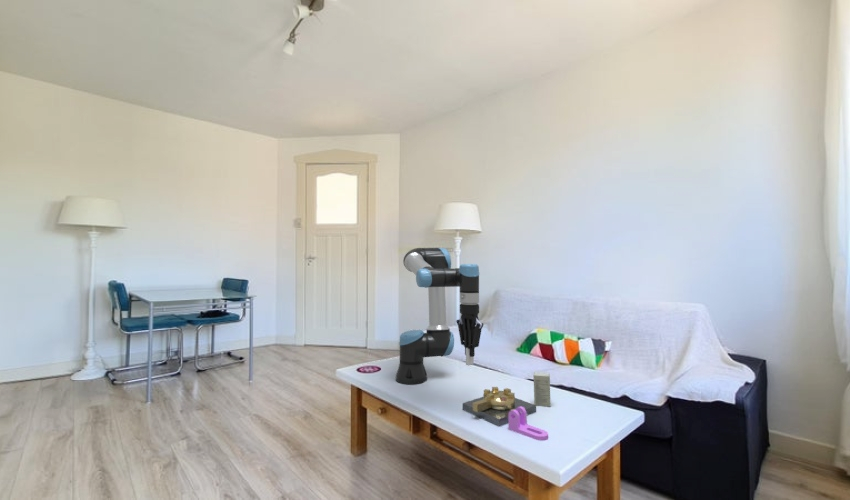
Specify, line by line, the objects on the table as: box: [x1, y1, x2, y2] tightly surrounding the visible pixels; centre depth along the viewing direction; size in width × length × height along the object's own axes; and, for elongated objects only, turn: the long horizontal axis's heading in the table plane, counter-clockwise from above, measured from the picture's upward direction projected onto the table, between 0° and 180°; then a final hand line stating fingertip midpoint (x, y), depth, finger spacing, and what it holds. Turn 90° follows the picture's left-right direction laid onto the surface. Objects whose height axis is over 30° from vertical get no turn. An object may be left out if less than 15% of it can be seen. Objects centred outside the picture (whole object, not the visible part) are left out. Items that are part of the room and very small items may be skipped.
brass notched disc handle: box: [473, 386, 516, 412], centre depth 148 cm, size 19×12×4 cm, turn 127°
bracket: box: [508, 406, 549, 441], centre depth 131 cm, size 13×6×7 cm, turn 44°
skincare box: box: [532, 371, 552, 407], centre depth 157 cm, size 6×4×12 cm
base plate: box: [462, 396, 537, 427], centre depth 149 cm, size 22×21×3 cm
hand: (469, 364), depth 150 cm, fingers closed
